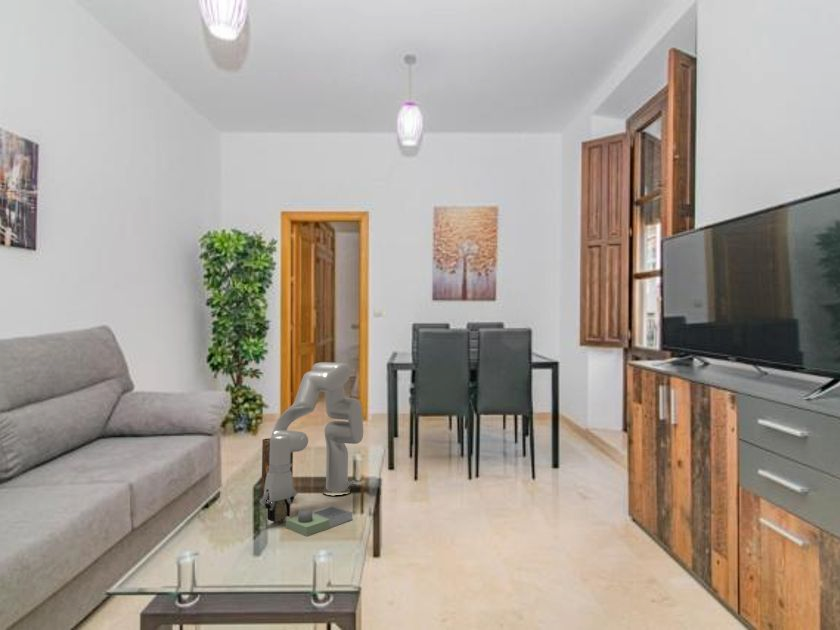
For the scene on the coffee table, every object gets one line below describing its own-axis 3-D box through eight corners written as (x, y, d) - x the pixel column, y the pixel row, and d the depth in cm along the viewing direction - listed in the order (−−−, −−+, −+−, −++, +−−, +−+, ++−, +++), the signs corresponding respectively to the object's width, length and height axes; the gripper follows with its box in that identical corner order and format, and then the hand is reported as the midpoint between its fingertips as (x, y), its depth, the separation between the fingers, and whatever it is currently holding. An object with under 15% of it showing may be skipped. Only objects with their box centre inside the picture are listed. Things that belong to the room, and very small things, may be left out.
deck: (308, 520, 192) (308, 504, 192) (329, 528, 184) (329, 511, 185) (285, 528, 184) (285, 511, 185) (306, 536, 177) (306, 518, 177)
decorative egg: (271, 527, 185) (272, 499, 186) (269, 522, 191) (269, 494, 191) (288, 524, 188) (288, 497, 188) (285, 519, 193) (285, 492, 194)
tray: (332, 513, 201) (332, 505, 201) (352, 520, 193) (352, 511, 193) (308, 521, 192) (308, 512, 192) (328, 528, 185) (328, 519, 185)
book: (259, 498, 220) (260, 439, 221) (271, 495, 224) (272, 437, 225) (280, 506, 208) (281, 444, 210) (292, 503, 212) (293, 442, 214)
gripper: (293, 462, 199) (292, 510, 198) (253, 471, 186) (252, 521, 185) (305, 465, 195) (304, 514, 193) (265, 474, 181) (264, 526, 180)
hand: (278, 517), depth 189 cm, fingers closed on decorative egg, 6 cm apart
